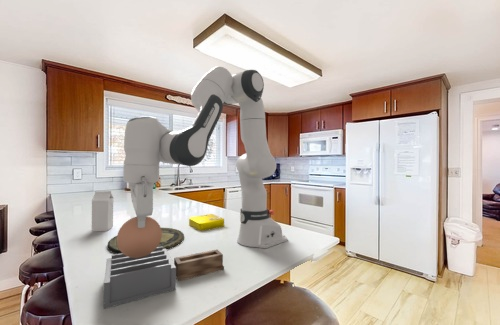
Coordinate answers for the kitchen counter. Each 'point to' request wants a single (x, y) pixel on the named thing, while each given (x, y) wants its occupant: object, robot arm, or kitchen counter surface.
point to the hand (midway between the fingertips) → (140, 225)
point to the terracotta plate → (139, 237)
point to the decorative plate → (167, 241)
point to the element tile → (206, 222)
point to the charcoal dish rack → (138, 277)
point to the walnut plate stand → (198, 264)
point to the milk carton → (102, 211)
